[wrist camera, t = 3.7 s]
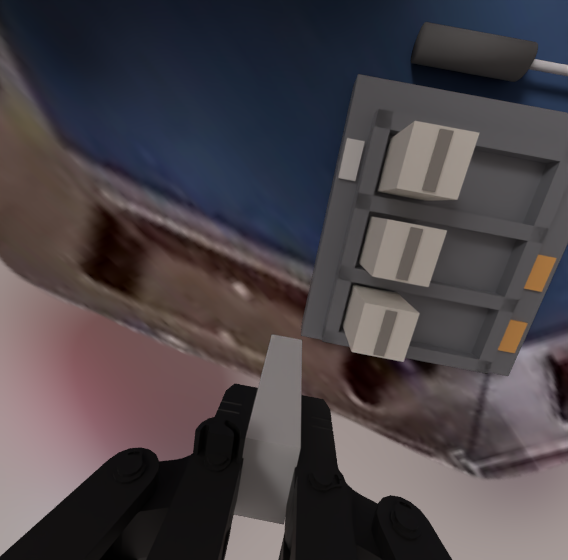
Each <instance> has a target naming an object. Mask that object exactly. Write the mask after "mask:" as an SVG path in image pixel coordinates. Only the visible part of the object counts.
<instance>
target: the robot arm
mask: <svg viewBox="0 0 568 560" xmlns="http://www.w3.org/2000/svg"><path fill="white" fill-rule="evenodd" d="M301 375H302V340H300V339H294V338H289V337H283V336H278V335H272V336H271V340H270V344H269V348H268V352H267V355H266V359H265V363H264V367H263V371H262V375H261V379H260V383H259V387H258V388H255V387H250V386H245V385H240V384H234V385H232V386H231V387H230V388H229V389H227V390H226V392H225V394H224V396H223V399H222V402H221V403H220V406H219V408H218V410H217V413H216V415H215V417H213V418H209V419H207V420H205V421H204V422H202V423H201V424H200V425H199V426H198V428H197V429H196V431H195V441H194V450H193V454H191V455H190V456H187V457H185V458H182V459H177V460H169V461H159V460H158V458H157V456H156V454H155V453H153V452H152V451H151V450H149V449H145V448H130V449H127V450H124V451H122V452H119V453H117V454H116V455H115V456H113V457H112V458H110V459H109V460H108V461H107V462H105V463H104V464H103V465H102V466H101V467H100V468H99V469H98V470H96V471H95V472H94V473H93V474H92V475H91V476H90V477H89V478H88V479H86V480H85V481H84V482H83V483H82V484H81V485H80V486H79V487H78V488H76V489H75V490H74V491H73V492H72V493H71V494H70V495H69V496H67V497H66V498H65V499H64V500H63V501H62V502H61V503H60V504H59V505H57V506H56V507H55V508H54V509H53V510H52V511H51V512H49V514H47V515H46V516H45V517H44V518H43V519H42V520H40V521H39V522H38V523H37V524H36V525H35V526H34V527H33V528H31V530H30V531H28V532H27V533H26V534H25V535H24V536H23V537H21V538H20V539H19V540H18V541H17V542H16V543H15V544H14V545H12V546H11V547H10V548H9V549H8V550H7V551H6V552H5V553H4V554H2V555H1V556H0V560H224V558H225V554H226V550H227V545H228V541H229V536H230V530H231V524H232V519H233V515H239V516H244V517H249V518H254V519H259V520H264V521H269V522H274V523H279V524H284V521H285V533H284V538H283V542H282V547H281V551H280V556H279V560H452V559H451V557H450V556H449V554H448V552H447V551H446V549H445V547H444V545H443V544H442V542H441V540H440V539H439V537H438V535H437V534H436V532H435V531H434V529H433V527H432V526H431V524H430V522H429V521H428V519H427V518H426V517H425V515H424V514H423V513H422V512H421V511H420V510H419V509H418V508H417V507H416V506H414V505H413V504H412V503H411V502H409V501H407V500H405V499H403V498H401V497H397V496H391V495H390V496H387V497H384V498H382V499H381V501H380V502H379V503H378V504H377V503H375V502H374V501H372V500H370V499H367V498H366V497H364V496H362V495H360V494H359V493H357V492H355V491H354V490H352V488H351V487H349V486H348V485H347V483H346V482H345V479H344V477H343V475H342V473H341V472H340V471H339V469H338V465H337V458H336V450H335V443H334V435H333V431H332V429H333V428H332V422H331V413H330V409H329V407H328V405H327V404H326V402H325V401H324V399H319V398H314V397H308V396H303V395H301ZM285 517H286V518H285Z"/></svg>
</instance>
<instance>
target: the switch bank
mask: <svg viewBox="0 0 568 560" xmlns="http://www.w3.org/2000/svg"><path fill="white" fill-rule="evenodd" d="M414 121H419V122H424V123H430V124H435V125H441V126H446V127H451V128H457V129H462V130H467V131H473V132H478V133H479V136H478V139H477V142H476V145H475V148H474V151H473V154H472V157H471V160H470V163H469V166H468V169H467V172H466V175H465V178H464V181H463V184H462V187H461V190H460V193H459V196H458V200H436V201H423V200H418V199H413V198H408V197H402V196H397V195H392V194H386V193H381V192H377V189H378V185H379V181H380V177H381V173H382V170H383V166H384V162H385V158H386V154H387V150H388V146H389V142H390V139H391V138H392V137H394V136H395V135H396V134H398V133H399V132H400V131H402V130H403V129H404V128H406V127H407V126H408V125H410V124H411V123H413V122H414ZM370 216H372V217H377V218H383V219H389V220H395V221H400V222H405V223H410V224H416V225H421V226H426V227H431V228H437V229H442V230H447V233H446V236H445V239H444V242H443V245H442V248H441V251H440V254H439V257H438V260H437V263H436V266H435V269H434V272H433V275H432V278H431V281H430V284H429V287H425V286H419V285H414V284H409V283H404V282H399V281H394V280H388V279H383V278H378V277H373V276H371V275H370V274H369V273H368V272H367V271H366V270H365V269H364V268H363V267H362V266H361V265H360V264H359V259H360V255H361V251H362V247H363V243H364V239H365V235H366V232H367V228H368V224H369V220H370ZM567 244H568V113H565V112H560V111H554V110H549V109H543V108H538V107H533V106H527V105H522V104H516V103H511V102H506V101H500V100H495V99H489V98H484V97H479V96H473V95H468V94H462V93H457V92H452V91H446V90H441V89H435V88H430V87H425V86H419V85H414V84H408V83H403V82H398V81H392V80H387V79H381V78H376V77H371V76H365V75H360V74H358V76H357V78H356V80H355V83H354V85H353V90H352V95H351V99H350V104H349V108H348V113H347V118H346V122H345V127H344V131H343V136H342V141H341V145H340V150H339V154H338V159H337V164H336V168H335V173H334V178H333V182H332V187H331V191H330V196H329V201H328V205H327V210H326V214H325V219H324V224H323V228H322V233H321V238H320V242H319V247H318V251H317V256H316V261H315V265H314V270H313V274H312V279H311V284H310V288H309V293H308V297H307V302H306V307H305V311H304V316H303V321H302V325H301V336H305V337H310V338H315V339H320V340H322V342H327V343H332V344H337V345H342V346H347V347H350V346H349V343H348V340H347V337H346V334H345V331H344V328H343V321H344V317H345V313H346V309H347V305H348V301H349V298H350V294H351V290H352V286H353V284H354V285H360V286H365V287H370V288H375V289H380V290H385V291H391V292H396V293H398V294H399V295H400V296H401V297H402V298H403V299H405V300H406V301H407V302H408V303H409V304H410V305H411V306H412V307H413V308H414V309H415V310H417V311H418V312H419V313H420V314H419V317H418V320H417V323H416V326H415V329H414V332H413V335H412V338H411V341H410V344H409V347H408V350H407V353H406V356H405V358H409V359H414V360H419V361H424V362H429V363H434V364H439V365H445V366H450V367H455V368H460V369H465V370H470V371H475V372H480V373H485V374H488V372H489V373H494V374H499V375H505V376H509V373H510V371H511V369H512V367H513V364H514V362H515V360H516V358H517V356H518V353H519V351H520V349H521V347H522V344H523V342H524V340H525V338H526V335H527V333H528V331H529V329H530V326H531V324H532V322H533V320H534V318H535V315H536V313H537V311H538V309H539V306H540V304H541V302H542V300H543V297H544V295H545V293H546V291H547V288H548V286H549V284H550V282H551V280H552V277H553V275H554V273H555V271H556V268H557V266H558V264H559V262H560V259H561V257H562V255H563V253H564V250H565V248H566V246H567Z"/></svg>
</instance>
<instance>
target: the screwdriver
mask: <svg viewBox="0 0 568 560" xmlns="http://www.w3.org/2000/svg"><path fill="white" fill-rule="evenodd" d="M537 50H538V44H537V43H536V42H532V41H527V40H521V39H516V38H510V37H505V36H499V35H494V34H488V33H483V32H477V31H472V30H467V29H461V28H456V27H450V26H445V25H439V24H434V23H428V22H425V23H424V24H423V26H422V27H421V29H420V32H419V34H418V36H417V39H416V42H415V44H414V48H413V51H412V56H411V63H414V64H419V65H425V66H430V67H436V68H441V69H446V70H452V71H457V72H463V73H468V74H473V75H479V76H484V77H490V78H495V79H501V80H506V81H511V82H516V81H518V80H519V79H520V78H521V77H522V76H523V75H524V74H525V73H526V72H527V71H528V69H531V70H537V71H542V72H548V73H553V74H559V75H564V76H568V65H564V64H558V63H553V62H547V61H542V60H536V59H535V56H536V54H537Z"/></svg>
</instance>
